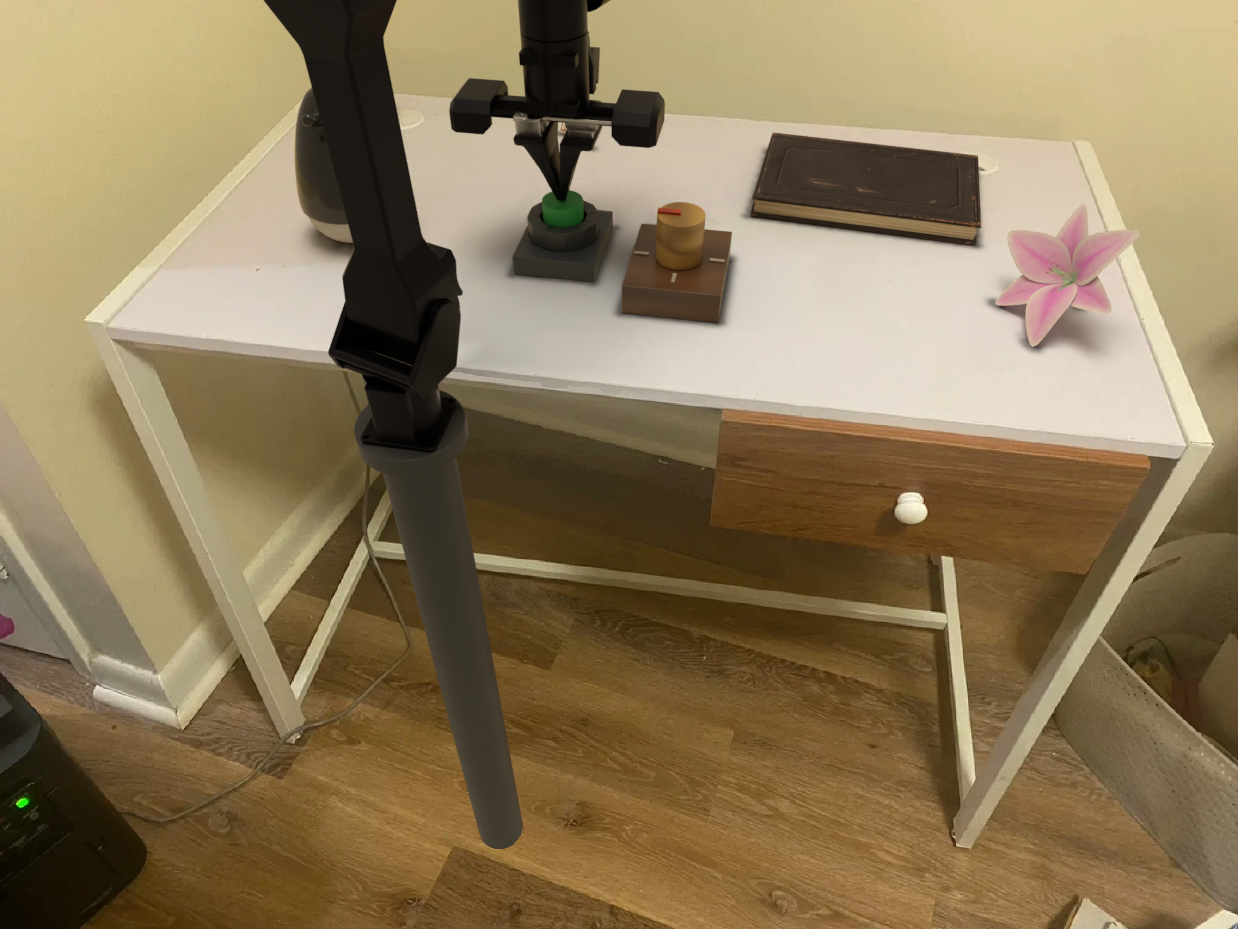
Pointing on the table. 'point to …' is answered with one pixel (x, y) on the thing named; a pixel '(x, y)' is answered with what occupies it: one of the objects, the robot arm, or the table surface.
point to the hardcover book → (870, 188)
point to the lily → (1061, 271)
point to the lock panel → (676, 280)
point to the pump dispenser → (317, 174)
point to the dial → (680, 235)
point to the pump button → (563, 210)
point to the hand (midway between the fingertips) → (562, 198)
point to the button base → (564, 246)
